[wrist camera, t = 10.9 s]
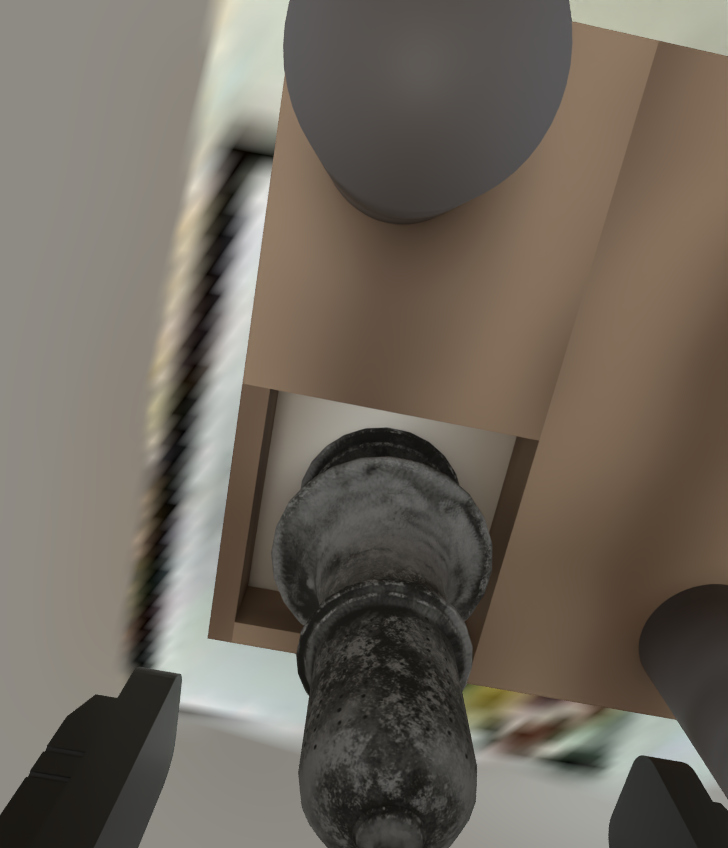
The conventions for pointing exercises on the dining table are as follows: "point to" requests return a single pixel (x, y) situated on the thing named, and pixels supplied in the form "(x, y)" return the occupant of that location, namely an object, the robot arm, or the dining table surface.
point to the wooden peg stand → (507, 331)
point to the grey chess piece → (384, 638)
